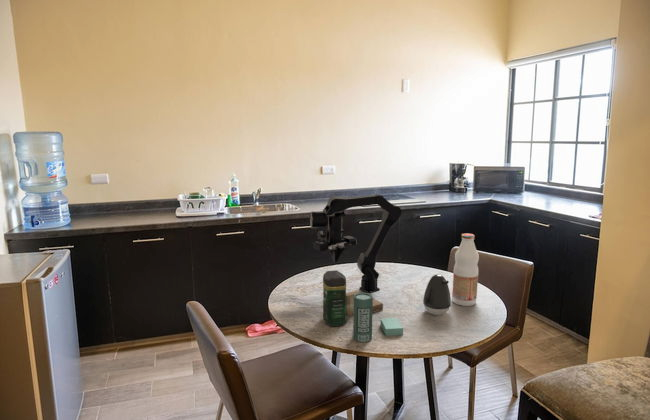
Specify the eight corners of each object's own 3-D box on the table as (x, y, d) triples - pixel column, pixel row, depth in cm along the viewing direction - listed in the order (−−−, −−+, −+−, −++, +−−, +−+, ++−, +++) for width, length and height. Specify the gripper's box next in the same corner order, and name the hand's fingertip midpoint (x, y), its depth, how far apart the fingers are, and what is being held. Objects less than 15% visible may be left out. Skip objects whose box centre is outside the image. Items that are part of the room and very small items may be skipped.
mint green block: (380, 318, 159) (385, 328, 152) (397, 317, 160) (403, 328, 152) (380, 325, 160) (385, 336, 152) (397, 324, 160) (402, 335, 153)
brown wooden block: (357, 299, 176) (370, 306, 170) (369, 296, 179) (382, 303, 173) (357, 306, 177) (370, 313, 170) (369, 302, 180) (382, 309, 173)
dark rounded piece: (435, 320, 163) (437, 281, 160) (417, 310, 172) (418, 272, 169) (456, 315, 168) (458, 276, 165) (437, 305, 177) (439, 268, 174)
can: (370, 333, 154) (371, 292, 151) (372, 342, 148) (373, 299, 145) (352, 333, 153) (353, 292, 150) (354, 342, 147) (354, 299, 145)
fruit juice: (456, 306, 175) (460, 238, 170) (448, 297, 185) (452, 231, 179) (479, 306, 176) (484, 237, 170) (471, 297, 185) (475, 231, 179)
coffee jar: (348, 325, 159) (348, 276, 156) (326, 328, 158) (326, 278, 154) (341, 314, 169) (341, 267, 165) (321, 316, 167) (320, 269, 163)
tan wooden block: (343, 313, 170) (343, 293, 168) (355, 310, 173) (356, 290, 171) (347, 316, 167) (347, 296, 166) (360, 312, 171) (360, 292, 169)
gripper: (342, 220, 197) (341, 254, 200) (306, 226, 187) (306, 261, 190) (357, 225, 188) (357, 260, 191) (320, 231, 178) (320, 268, 181)
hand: (335, 262), depth 189 cm, fingers closed
